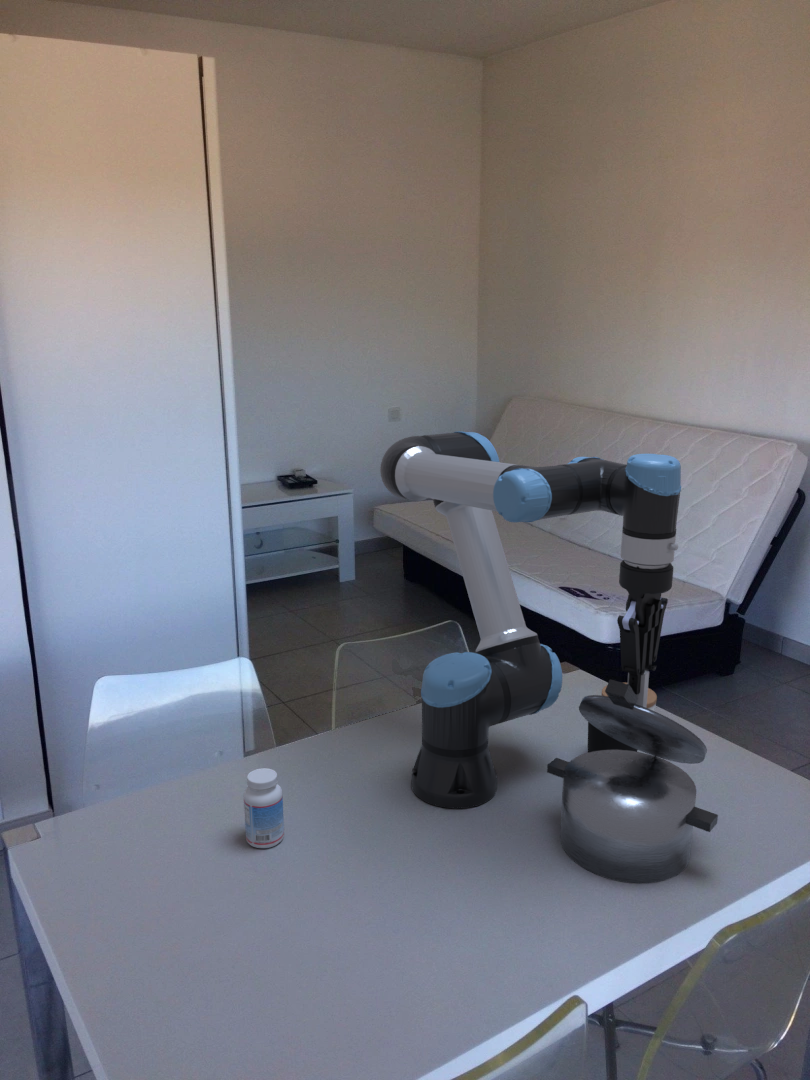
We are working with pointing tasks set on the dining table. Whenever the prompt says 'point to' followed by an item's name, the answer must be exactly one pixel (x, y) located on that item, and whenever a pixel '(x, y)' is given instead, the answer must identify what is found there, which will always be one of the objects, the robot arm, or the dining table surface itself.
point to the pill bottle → (263, 809)
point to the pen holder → (604, 741)
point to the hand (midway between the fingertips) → (635, 710)
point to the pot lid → (641, 725)
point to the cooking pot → (628, 815)
